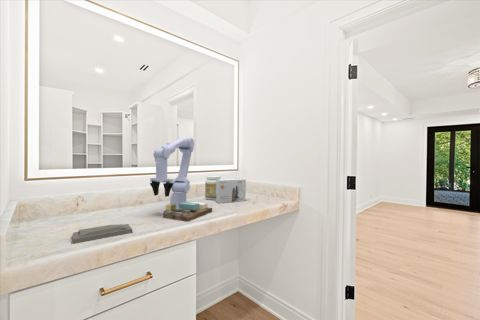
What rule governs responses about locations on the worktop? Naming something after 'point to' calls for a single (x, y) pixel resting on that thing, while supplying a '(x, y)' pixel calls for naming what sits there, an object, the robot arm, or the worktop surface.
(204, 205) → the white rectangular block
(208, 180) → the supplement tub
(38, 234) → the worktop surface
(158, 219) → the worktop surface
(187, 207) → the teal button
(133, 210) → the worktop surface
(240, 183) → the skincare box
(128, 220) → the worktop surface
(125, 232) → the soap mold
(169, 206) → the brass slider
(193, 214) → the panel
